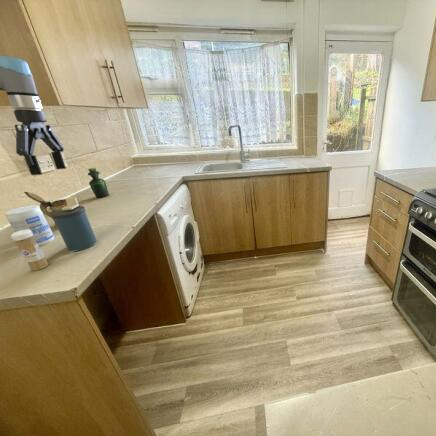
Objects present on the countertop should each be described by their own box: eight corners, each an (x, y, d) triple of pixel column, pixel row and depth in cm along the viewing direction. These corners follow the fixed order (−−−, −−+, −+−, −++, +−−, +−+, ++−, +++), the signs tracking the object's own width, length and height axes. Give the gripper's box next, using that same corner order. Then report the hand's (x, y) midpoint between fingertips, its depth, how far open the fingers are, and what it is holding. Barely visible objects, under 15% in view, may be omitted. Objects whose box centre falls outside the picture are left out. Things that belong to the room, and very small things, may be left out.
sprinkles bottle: (28, 272, 80) (7, 236, 75) (35, 265, 84) (15, 230, 79) (46, 268, 82) (26, 233, 76) (51, 261, 86) (33, 227, 80)
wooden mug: (45, 225, 115) (26, 189, 108) (81, 217, 122) (65, 183, 115) (41, 232, 108) (21, 194, 101) (79, 223, 115) (63, 187, 108)
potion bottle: (94, 197, 154) (83, 168, 146) (109, 193, 159) (99, 166, 151) (95, 200, 148) (83, 170, 141) (111, 196, 153) (100, 168, 145)
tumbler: (77, 241, 99) (61, 206, 93) (102, 239, 101) (89, 204, 95) (61, 254, 91) (43, 216, 84) (89, 251, 92) (74, 213, 86)
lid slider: (69, 206, 93) (66, 198, 91) (79, 205, 93) (75, 197, 92) (62, 210, 89) (58, 202, 88) (71, 209, 89) (68, 201, 88)
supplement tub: (45, 246, 96) (27, 212, 89) (17, 250, 94) (-4, 216, 88) (60, 235, 104) (44, 203, 98) (35, 238, 102) (17, 206, 96)
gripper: (12, 107, 74) (38, 177, 81) (63, 112, 96) (80, 166, 104) (-19, 106, 72) (10, 178, 80) (41, 112, 95) (59, 167, 102)
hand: (50, 171), depth 92 cm, fingers open, 13 cm apart
